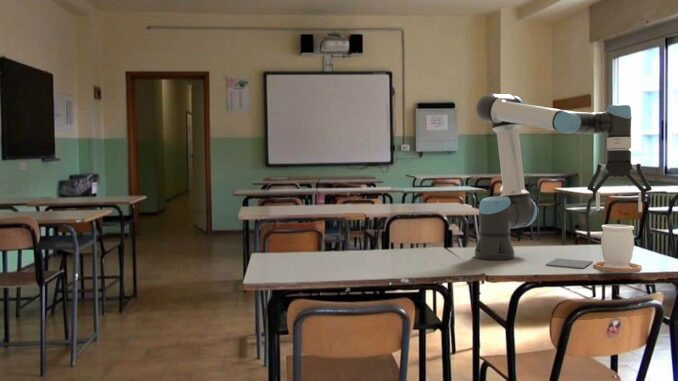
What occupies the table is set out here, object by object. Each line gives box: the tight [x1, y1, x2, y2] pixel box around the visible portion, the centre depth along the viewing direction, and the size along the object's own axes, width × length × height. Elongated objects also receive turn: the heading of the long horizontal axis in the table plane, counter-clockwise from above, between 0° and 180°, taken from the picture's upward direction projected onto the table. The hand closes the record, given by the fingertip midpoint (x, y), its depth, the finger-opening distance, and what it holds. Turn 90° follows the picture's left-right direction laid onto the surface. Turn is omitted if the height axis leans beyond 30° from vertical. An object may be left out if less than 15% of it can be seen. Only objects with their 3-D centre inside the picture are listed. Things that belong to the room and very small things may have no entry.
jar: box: [600, 223, 635, 268], centre depth 216 cm, size 11×10×15 cm
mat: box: [545, 258, 594, 270], centre depth 225 cm, size 13×15×1 cm
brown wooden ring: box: [592, 261, 642, 273], centre depth 216 cm, size 15×15×1 cm
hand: (618, 211), depth 215 cm, fingers open, 13 cm apart
